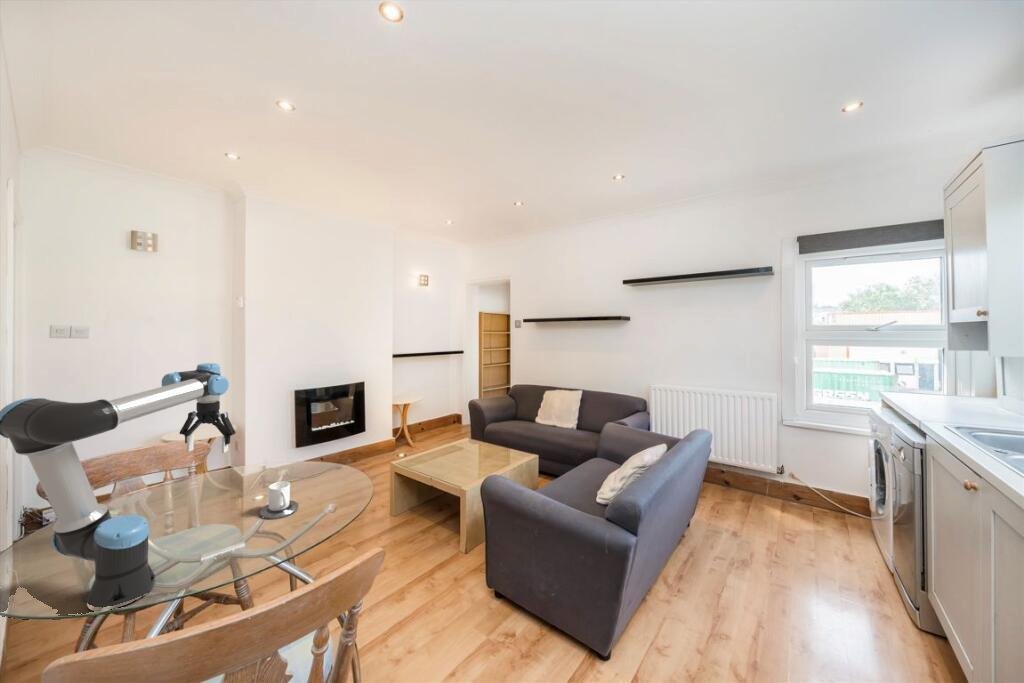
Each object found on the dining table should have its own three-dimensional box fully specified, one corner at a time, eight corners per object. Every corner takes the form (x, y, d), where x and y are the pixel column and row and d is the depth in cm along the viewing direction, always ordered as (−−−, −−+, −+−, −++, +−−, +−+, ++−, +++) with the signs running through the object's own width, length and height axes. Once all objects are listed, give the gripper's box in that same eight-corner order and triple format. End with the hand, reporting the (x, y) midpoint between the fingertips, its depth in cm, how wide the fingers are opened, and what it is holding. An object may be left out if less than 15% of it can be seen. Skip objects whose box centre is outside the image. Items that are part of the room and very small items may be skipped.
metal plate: (281, 521, 164) (281, 518, 164) (251, 516, 167) (251, 513, 167) (305, 505, 179) (305, 502, 179) (278, 500, 182) (278, 498, 182)
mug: (295, 510, 172) (295, 488, 171) (274, 516, 166) (275, 494, 165) (285, 500, 180) (286, 479, 179) (265, 506, 174) (266, 484, 173)
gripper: (245, 400, 160) (244, 448, 162) (182, 397, 158) (182, 447, 159) (234, 404, 153) (233, 455, 154) (168, 401, 151) (167, 453, 152)
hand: (207, 451), depth 157 cm, fingers open, 13 cm apart
